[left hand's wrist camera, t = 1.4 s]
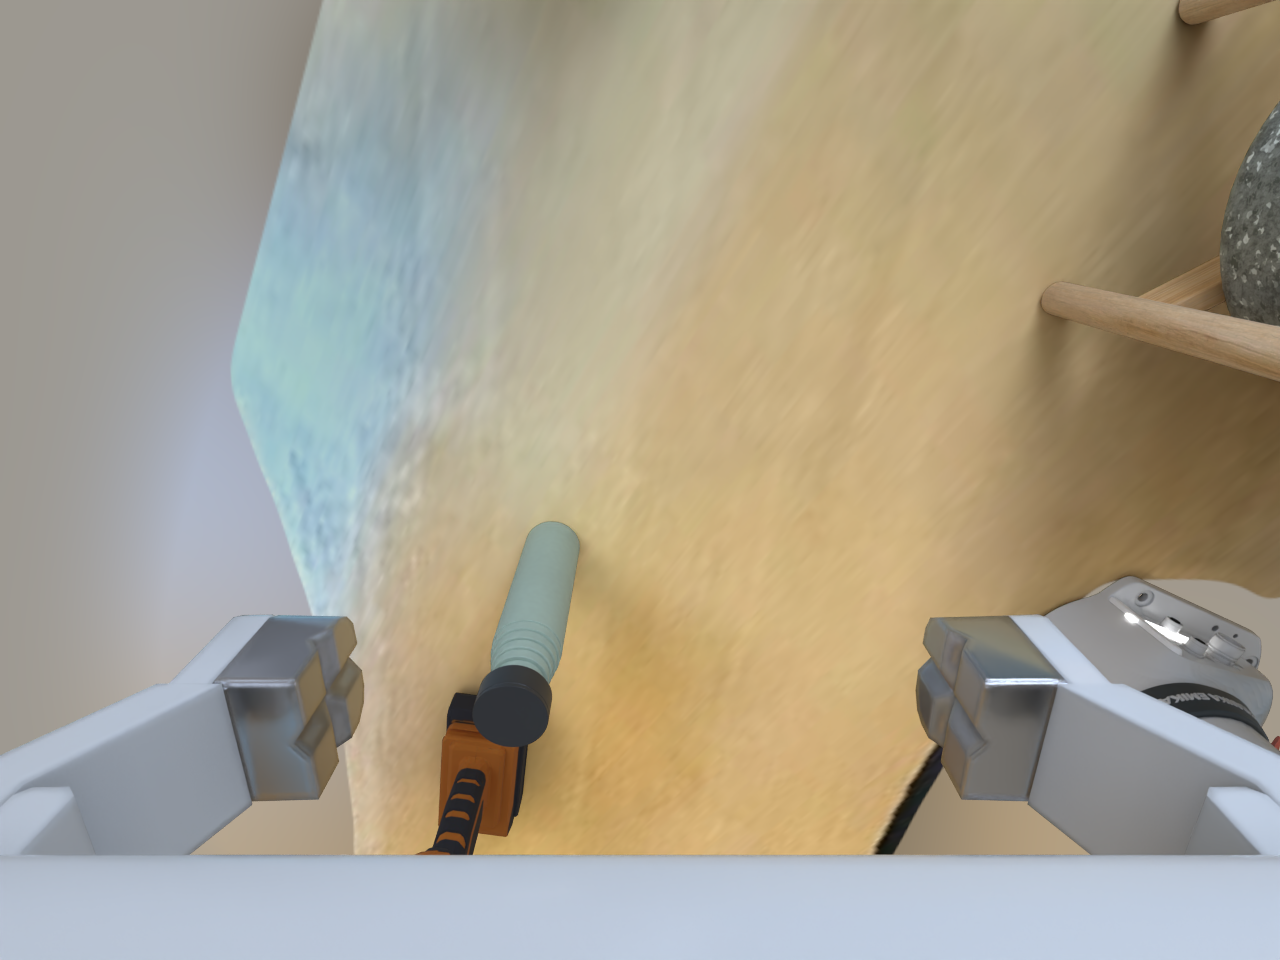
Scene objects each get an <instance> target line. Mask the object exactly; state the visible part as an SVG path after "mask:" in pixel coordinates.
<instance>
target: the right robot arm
mask: <svg viewBox="0 0 1280 960" xmlns="http://www.w3.org/2000/svg"><path fill="white" fill-rule="evenodd" d="M1140 594H1142V595H1141V596H1140V597H1138V596H1139V595H1140ZM1044 617H1046V618H1048V619H1049V620H1050V621H1051V622H1052V623H1053V624H1054V625H1055V626H1056V627H1057V628H1058V629H1059V630H1060V631H1061V632H1062V633H1063V635H1064V636H1065V637H1066V638H1067V639H1068V640H1069V641H1070V642H1071V643H1072V644H1073V645H1074V646H1075V647H1076V648H1077V649H1078V650H1079V651H1080V652H1081V653H1082V654H1083V655H1084V656H1085V657H1086V658H1087V659H1088V660H1089V661H1090V662H1091V663H1092V664H1093V665H1094V666H1095V667H1096V668H1097V670H1098V671H1099V672H1100V673H1101V674H1102V675H1103V676H1104V677H1105V678H1106V679H1107V680H1108V681H1109V682H1110V683H1111V684H1125V685H1127V686H1129V687H1131V688H1133V689H1136V690H1138V691H1140V692H1142V693H1144V694H1147V695H1149V696H1151V697H1153V698H1155V699H1157V700H1160V701H1162V702H1164V703H1166V704H1168V705H1171V706H1173V707H1175V708H1177V709H1179V710H1181V711H1184V712H1186V713H1188V714H1190V715H1192V716H1195V717H1197V718H1199V719H1201V720H1203V721H1205V722H1208V723H1210V724H1212V725H1214V726H1216V727H1219V728H1221V729H1223V730H1225V731H1227V732H1229V733H1232V734H1234V735H1236V736H1238V737H1240V738H1243V739H1245V740H1247V741H1249V742H1251V743H1253V744H1256V745H1258V746H1260V747H1262V748H1264V749H1267V750H1269V751H1271V752H1273V753H1275V754H1278V755H1280V751H1279V747H1280V737H1279V736H1277V737H1276V738H1275V739H1274V741H1273V742H1272V743H1270V742H1269V739H1268V737H1267V736H1266V734H1265V732H1264V731H1263V729H1262V726H1263V724H1264V722H1265V720H1266V718H1267V716H1268V714H1269V711H1270V708H1271V705H1272V699H1273V690H1272V686H1271V683H1270V681H1269V680H1268V679H1267V678H1266V677H1265V676H1264V675H1263V674H1262V673H1261V672H1260V671H1258V670H1257V669H1258V665H1259V662H1260V657H1261V640H1260V638H1259V637H1258V636H1257V635H1256V634H1255V633H1254V632H1252V631H1251V630H1249V629H1247V628H1245V627H1243V626H1241V625H1239V624H1237V623H1234V622H1232V621H1230V620H1228V619H1226V618H1224V617H1221V616H1219V615H1217V614H1215V613H1213V612H1211V611H1208V610H1206V609H1204V608H1202V607H1200V606H1198V605H1196V604H1193V603H1191V602H1189V601H1187V600H1185V599H1183V598H1180V597H1178V596H1176V595H1174V594H1172V593H1170V592H1168V591H1165V590H1163V589H1161V588H1159V587H1157V586H1155V585H1152V584H1150V583H1148V582H1146V581H1144V580H1142V579H1139V578H1137V577H1134V576H1128V577H1124V578H1122V579H1120V580H1118V581H1116V582H1114V583H1113V584H1111V585H1110V586H1108V587H1107V588H1105V589H1104V590H1102V591H1101V592H1099V593H1098V594H1095V595H1093V596H1090V597H1087V598H1083V599H1080V600H1077V601H1073V602H1071V603H1068V604H1065V605H1063V606H1061V607H1059V608H1057V609H1055V610H1053V611H1051V612H1050V613H1048V614H1047V615H1045V616H1044Z"/></svg>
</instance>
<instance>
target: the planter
mask: <svg viewBox="0 0 1280 960" xmlns="http://www.w3.org/2000/svg"><path fill="white" fill-rule="evenodd" d="M1271 1H1275V0H1180V3H1179V14H1180V17H1181V19H1182V20H1183V21H1184V22H1185V23H1188V24H1191V25H1195V24H1199V23H1202V22H1206V21H1209V20H1212V19H1216V18H1219V17H1222V16H1225V15H1229V14H1232V13H1235V12H1239V11H1242V10H1245V9H1248V8H1252V7H1255V6H1258V5H1262V4H1265V3H1268V2H1271ZM1225 301H1226V303H1227V307H1228V310H1229V312H1230V315H1231V316H1226V315H1221V314H1216V313H1211V312H1207V310H1209V309H1211V308H1213V307H1215V306H1217V305H1219V304H1221V303H1223V302H1225ZM1042 307H1043V309H1044V310H1045V311H1046V312H1047V313H1048V314H1051V315H1054V316H1058V317H1061V318H1065V319H1068V320H1071V321H1075V322H1078V323H1082V324H1085V325H1088V326H1092V327H1095V328H1099V329H1102V330H1105V331H1109V332H1112V333H1116V334H1119V335H1122V336H1126V337H1129V338H1133V339H1136V340H1139V341H1143V342H1146V343H1150V344H1153V345H1156V346H1160V347H1163V348H1167V349H1170V350H1173V351H1177V352H1180V353H1184V354H1187V355H1190V356H1194V357H1197V358H1201V359H1204V360H1207V361H1211V362H1214V363H1218V364H1221V365H1224V366H1228V367H1231V368H1235V369H1238V370H1241V371H1245V372H1248V373H1252V374H1255V375H1258V376H1262V377H1265V378H1269V379H1272V380H1275V381H1279V382H1280V101H1279V103H1278V104H1277V105H1276V107H1275V108H1274V109H1273V111H1272V112H1271V114H1270V115H1269V117H1268V118H1267V120H1266V121H1265V123H1264V124H1263V125H1262V127H1261V129H1260V130H1259V132H1258V134H1257V136H1256V137H1255V139H1254V141H1253V142H1252V144H1251V146H1250V148H1249V150H1248V152H1247V154H1246V156H1245V158H1244V160H1243V162H1242V164H1241V166H1240V168H1239V171H1238V174H1237V176H1236V179H1235V182H1234V184H1233V187H1232V189H1231V193H1230V196H1229V200H1228V203H1227V207H1226V210H1225V215H1224V221H1223V226H1222V231H1221V243H1220V255H1219V256H1217V257H1215V258H1213V259H1211V260H1209V261H1207V262H1205V263H1203V264H1201V265H1199V266H1198V267H1196V268H1194V269H1192V270H1190V271H1188V272H1186V273H1184V274H1182V275H1180V276H1178V277H1176V278H1174V279H1172V280H1170V281H1168V282H1166V283H1164V284H1162V285H1160V286H1158V287H1156V288H1154V289H1152V290H1150V291H1148V292H1146V293H1145V294H1143V295H1141V296H1139V297H1134V296H1130V295H1125V294H1120V293H1115V292H1110V291H1106V290H1101V289H1096V288H1091V287H1086V286H1082V285H1077V284H1072V283H1067V282H1056V283H1054V284H1052V285H1050V286H1049V287H1048V288H1047V289H1046V290H1045V292H1044V294H1043V296H1042Z"/></svg>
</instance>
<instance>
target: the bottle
mask: <svg viewBox="0 0 1280 960" xmlns="http://www.w3.org/2000/svg"><path fill="white" fill-rule="evenodd" d="M579 549H580V544H579V540H578V537H577V535H576V534H575V533H574V531H573V530H572V529H571V528H569V527H568V526H566V525H564V524H562V523H559V522H544V523H541V524H539V525H537V526H536V527H534V528H533V529H532V530H531V531H530V533H529V534H528V536H527V539H526V542H525V545H524V548H523V551H522V554H521V557H520V560H519V563H518V566H517V569H516V572H515V575H514V578H513V581H512V584H511V587H510V590H509V594H508V597H507V600H506V603H505V606H504V609H503V612H502V615H501V618H500V621H499V624H498V627H497V630H496V633H495V636H494V639H493V643H492V649H491V671H493V670H495V669H497V668H499V667H502V666H506V665H521V666H525V667H529V668H531V669H533V670H535V671H537V672H538V673H540V674H541V675H542V676H543V677H544V678H545V679H546V681H547V682H548V684H549V683H550V681H551V679H552V677H553V676H554V673H555V671H556V670H557V668H558V665H559V661H560V659H561V655H562V650H563V644H564V638H565V632H566V626H567V620H568V614H569V608H570V603H571V597H572V591H573V585H574V579H575V573H576V567H577V561H578V555H579Z"/></svg>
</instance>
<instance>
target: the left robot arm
mask: <svg viewBox="0 0 1280 960" xmlns="http://www.w3.org/2000/svg"><path fill="white" fill-rule="evenodd" d="M356 645H357V640H356V635H355V630H354V625H353V623H352V622H351V621H350V620H349V619H348V618H347V617H343V616H291V615H278V616H275V615H242V616H237V617H233V618H232V619H231V620H230V621H229V622H228V623H227V624H226V625H225V627H224V628H223V629H222V630H221V631H220V632H219V633H218V634H217V635H216V636H215V637H214V638H213V639H212V640H211V641H210V642H209V643H208V644H207V645H206V646H205V647H204V648H203V649H202V650H201V651H200V652H199V653H198V654H197V655H196V656H195V657H194V658H193V659H192V660H191V661H190V662H189V663H188V664H187V665H186V667H185V668H184V669H183V670H182V671H181V672H180V673H179V674H178V675H177V676H176V677H175V678H174V679H173V680H172V681H171V682H170V683H169V684H155V685H153V686H151V687H149V688H147V689H144V690H142V691H140V692H138V693H136V694H133V695H131V696H129V697H127V698H125V699H122V700H120V701H118V702H116V703H114V704H112V705H109V706H107V707H105V708H103V709H101V710H98V711H96V712H94V713H92V714H90V715H87V716H85V717H83V718H81V719H79V720H77V721H74V722H72V723H70V724H68V725H66V726H63V727H61V728H59V729H57V730H55V731H52V732H50V733H48V734H46V735H44V736H41V737H39V738H37V739H35V740H33V741H31V742H28V743H26V744H24V745H22V746H20V747H17V748H15V749H13V750H11V751H9V752H7V753H4V754H2V755H0V960H1280V755H1278V754H1275V753H1273V752H1271V751H1269V750H1267V749H1264V748H1262V747H1260V746H1258V745H1256V744H1253V743H1251V742H1249V741H1247V740H1245V739H1243V738H1240V737H1238V736H1236V735H1234V734H1232V733H1229V732H1227V731H1225V730H1223V729H1221V728H1219V727H1216V726H1214V725H1212V724H1210V723H1208V722H1205V721H1203V720H1201V719H1199V718H1197V717H1195V716H1192V715H1190V714H1188V713H1186V712H1184V711H1181V710H1179V709H1177V708H1175V707H1173V706H1171V705H1168V704H1166V703H1164V702H1162V701H1160V700H1157V699H1155V698H1153V697H1151V696H1149V695H1147V694H1144V693H1142V692H1140V691H1138V690H1136V689H1133V688H1131V687H1129V686H1127V685H1125V684H1111V683H1110V682H1109V681H1108V680H1107V679H1106V678H1105V677H1104V676H1103V675H1102V674H1101V673H1100V672H1099V671H1098V670H1097V668H1096V667H1095V666H1094V665H1093V664H1092V663H1091V662H1090V661H1089V660H1088V659H1087V658H1086V657H1085V656H1084V655H1083V654H1082V653H1081V652H1080V651H1079V650H1078V649H1077V648H1076V647H1075V646H1074V645H1073V644H1072V643H1071V642H1070V641H1069V640H1068V639H1067V638H1066V637H1065V636H1064V635H1063V633H1062V632H1061V631H1060V630H1059V629H1058V628H1057V627H1056V626H1055V625H1054V624H1053V623H1052V622H1051V621H1050V620H1049V619H1048V618H1046V617H1043V616H1041V615H1038V614H1036V615H1010V616H980V617H941V618H930V620H929V622H928V624H927V626H926V628H925V634H924V639H923V645H924V646H925V648H926V649H927V651H928V653H929V654H930V656H931V658H930V659H929V660H928V661H927V662H926V663H925V664H924V665H923V666H922V667H921V668H920V669H919V670H918V676H917V684H916V701H917V711H918V714H919V717H920V721H921V724H922V726H923V728H924V730H925V732H926V734H927V736H928V738H930V739H931V740H933V741H934V742H936V743H937V744H938V745H940V746H941V747H943V753H942V759H941V763H942V764H943V766H944V768H945V770H946V772H947V774H948V775H949V777H950V779H951V781H952V783H953V785H954V786H955V788H956V790H957V792H958V794H959V796H960V798H961V799H963V800H999V801H1028V805H1029V806H1031V807H1032V808H1033V809H1034V810H1035V811H1037V812H1038V813H1039V814H1040V815H1042V816H1043V817H1044V818H1045V819H1047V820H1048V821H1049V822H1050V823H1052V824H1053V825H1054V826H1055V827H1057V828H1058V829H1059V830H1061V831H1062V832H1063V833H1064V834H1065V835H1067V836H1068V837H1069V838H1070V839H1072V840H1073V841H1074V842H1076V843H1077V844H1078V845H1079V846H1081V847H1082V848H1083V849H1084V850H1086V851H1087V852H1088V853H1089V854H1091V855H190V854H191V853H192V852H193V851H195V850H196V849H197V848H198V847H200V846H201V845H202V844H203V843H205V842H206V841H207V840H208V839H210V838H211V837H212V836H213V835H215V834H216V833H217V832H219V831H220V830H221V829H222V828H224V827H225V826H226V825H227V824H229V823H230V822H231V821H232V820H234V819H235V818H236V817H237V816H239V815H240V814H241V813H242V812H244V811H245V810H246V809H247V808H249V807H250V806H251V805H252V801H279V800H315V799H319V798H320V796H321V794H322V792H323V790H324V789H325V787H326V785H327V783H328V781H329V779H330V777H331V775H332V774H333V772H334V770H335V768H336V766H337V764H338V762H339V759H338V753H337V747H339V746H340V745H342V744H343V743H344V742H346V741H347V740H349V739H350V738H352V736H353V734H354V732H355V730H356V728H357V726H358V724H359V721H360V717H361V713H362V708H363V704H364V681H363V675H362V670H361V669H360V668H359V667H358V666H357V665H356V664H355V663H354V662H353V661H352V660H351V659H350V658H349V656H350V654H351V653H352V651H353V649H354V648H355V646H356Z"/></svg>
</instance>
